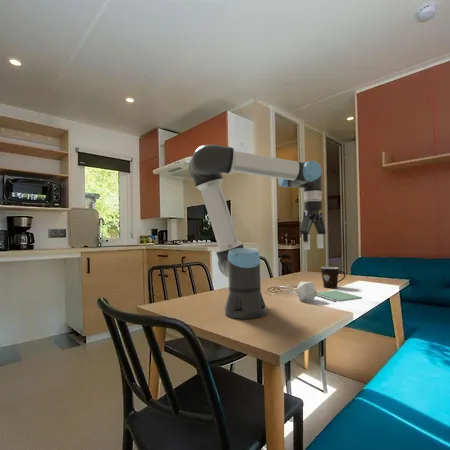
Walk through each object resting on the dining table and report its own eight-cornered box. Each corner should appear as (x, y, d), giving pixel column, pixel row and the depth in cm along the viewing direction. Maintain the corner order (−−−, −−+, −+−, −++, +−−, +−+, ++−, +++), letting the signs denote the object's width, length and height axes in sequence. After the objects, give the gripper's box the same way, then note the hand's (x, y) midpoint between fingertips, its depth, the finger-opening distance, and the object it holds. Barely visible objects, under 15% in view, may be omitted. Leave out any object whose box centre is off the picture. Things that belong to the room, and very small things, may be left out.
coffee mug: (318, 286, 149) (317, 267, 149) (331, 285, 151) (331, 266, 151) (332, 290, 138) (331, 270, 138) (347, 289, 140) (346, 268, 140)
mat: (339, 301, 117) (339, 300, 117) (314, 293, 132) (314, 292, 132) (361, 298, 121) (361, 297, 121) (335, 291, 136) (335, 290, 136)
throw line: (334, 301, 116) (334, 301, 116) (310, 294, 132) (310, 293, 132) (336, 301, 117) (336, 300, 117) (312, 293, 132) (312, 293, 132)
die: (319, 300, 122) (307, 281, 127) (323, 294, 115) (310, 274, 120) (302, 308, 121) (291, 288, 126) (305, 302, 114) (293, 282, 119)
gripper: (308, 198, 115) (308, 250, 114) (332, 202, 133) (333, 248, 133) (291, 199, 120) (292, 250, 119) (317, 204, 138) (317, 247, 138)
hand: (313, 249), depth 126 cm, fingers open, 13 cm apart
